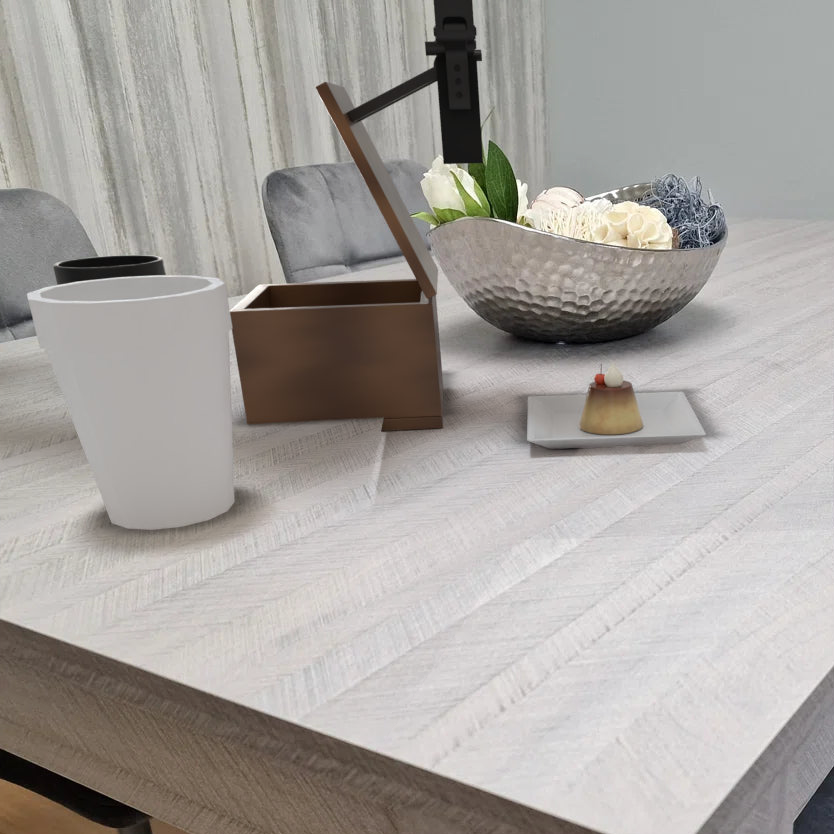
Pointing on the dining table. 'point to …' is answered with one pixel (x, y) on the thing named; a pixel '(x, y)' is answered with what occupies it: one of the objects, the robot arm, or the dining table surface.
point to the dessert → (611, 417)
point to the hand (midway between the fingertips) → (462, 160)
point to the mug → (108, 268)
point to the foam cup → (146, 391)
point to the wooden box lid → (383, 168)
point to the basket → (340, 353)
